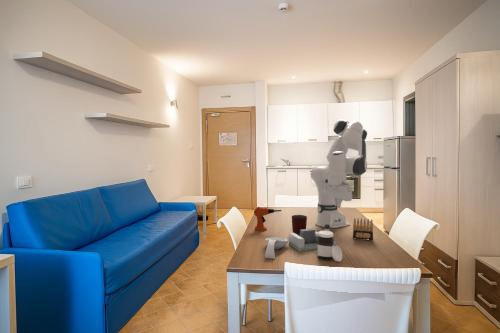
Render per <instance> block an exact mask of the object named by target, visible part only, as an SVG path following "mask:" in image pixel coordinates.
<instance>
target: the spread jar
mask: <svg viewBox="0 0 500 333" xmlns="http://www.w3.org/2000/svg"><path fill="white" fill-rule="evenodd" d="M317 232H318V235H319V236H318V240H317V249H316V250H317V251H316V252H317V253H316V255H317V258H319V259H321V260H326V259H329V260H332V259H333V260H334V261H335V262H341V261H343V252H342V249H341V247H340V246H339V245H336V246H334V242H335V238H334V232H332V231H330V230H329V231H325V230H320V231H317Z"/></svg>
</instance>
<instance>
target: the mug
mask: <svg viewBox="0 0 500 333" xmlns="http://www.w3.org/2000/svg"><path fill="white" fill-rule="evenodd" d="M307 222H308V216H307V215H303V214H294V215H292V216H291V229H292V233H295V234H297V235H299V236H300V230H301V229H307Z"/></svg>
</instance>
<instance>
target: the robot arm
mask: <svg viewBox="0 0 500 333" xmlns="http://www.w3.org/2000/svg"><path fill="white" fill-rule="evenodd" d="M333 132H334V133H335V134H336V135H338V137H336V139H334V141H333V143H332V145H331V147H330V148H329V151H328V153H327V155H326V159H327V162H328V165H327V166H321V165H320V166H315V167H313V168H312V169H311V172H310V178H311V179H312V181H314V183H315V186H316V189H317V195H318V197H317V198H318V202H317V215H316V217H317V218H316V221H315V225H316V226H319V227H322V228H324V225H325V224H329V225H330V228H331V229H336V228H341V227H347V226H350V225H351V224H350V222H348V221H347V217H346V215H345V213H343V212H341V211H340V210H339V209H340V208H341V207H342V202H343V201H345V202H351V201H352V200H353V191H352V190H353V189H352V186H351V185H350V183H348V182H347V175H357V176H362V175H364V174H365V173H366V172H367V170H368V163H367V162H368V161H367V145H366V140H367V137H368V131H366V129H364V127H363V124H362V123H361V122H359V121H355V120H353V121H351V122H350V121H347V120H345V119H342V118H340V119H338V120H337V121H336V122H335V124H334V125H333ZM349 150H353V151H357V152H358V153H357V155H358V156H357V155H356V156H346V155H347V153H348V151H349ZM338 208H339V209H338Z"/></svg>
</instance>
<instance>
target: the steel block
mask: <svg viewBox="0 0 500 333" xmlns="http://www.w3.org/2000/svg"><path fill="white" fill-rule="evenodd" d="M315 231H316V229H315V228H306V229H301V230H300V237H302V238H304V244H310V243H315Z"/></svg>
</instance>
